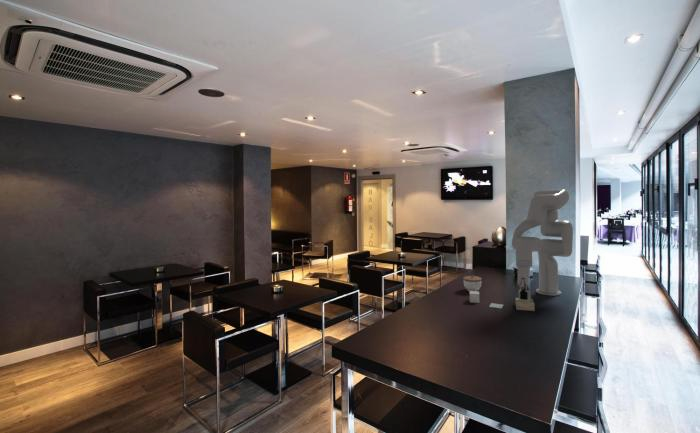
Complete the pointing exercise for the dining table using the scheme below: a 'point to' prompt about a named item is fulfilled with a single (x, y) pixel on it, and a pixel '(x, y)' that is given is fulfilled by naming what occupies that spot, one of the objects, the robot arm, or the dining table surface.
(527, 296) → the sage cube
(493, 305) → the sage swatch
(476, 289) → the lidded jar
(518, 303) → the tan square block
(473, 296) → the offwhite cube
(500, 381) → the dining table surface
